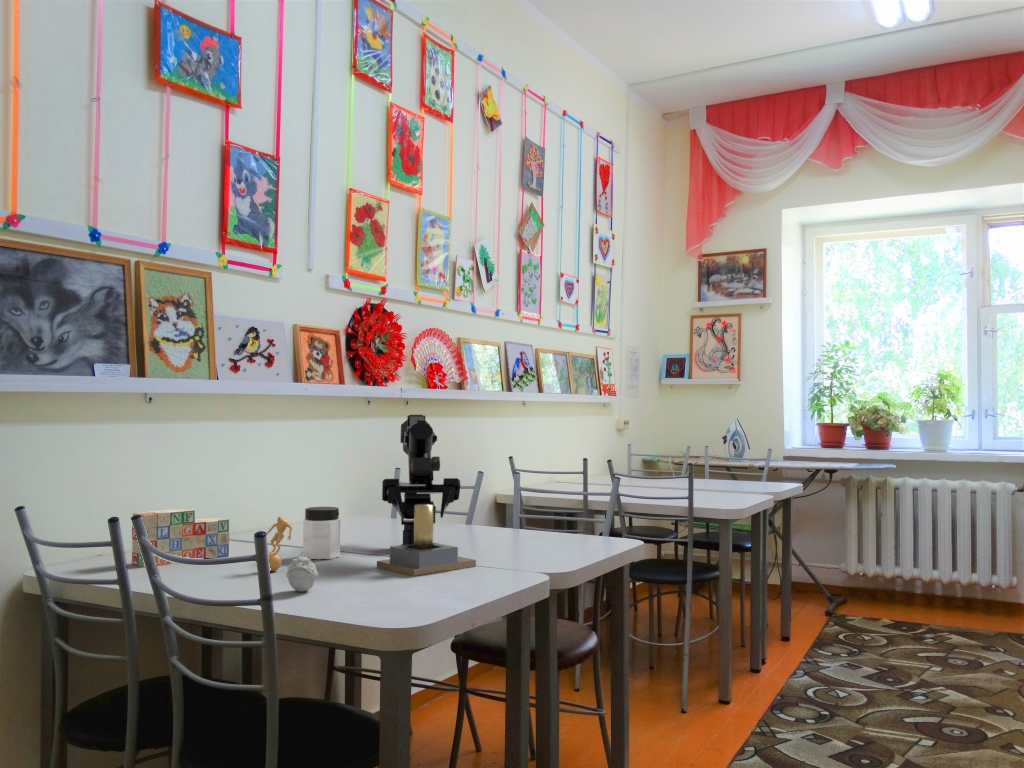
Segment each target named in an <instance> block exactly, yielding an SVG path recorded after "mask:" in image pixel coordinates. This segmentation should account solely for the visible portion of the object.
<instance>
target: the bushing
mask: <svg viewBox="0 0 1024 768" xmlns="http://www.w3.org/2000/svg"><path fill="white" fill-rule="evenodd" d="M433 504H434V503H433ZM433 504H416V505H414V519H413V520H414V549H419V550H425V549H433V543H434V524H433Z"/></svg>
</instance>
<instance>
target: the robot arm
mask: <svg viewBox="0 0 1024 768" xmlns="http://www.w3.org/2000/svg"><path fill="white" fill-rule="evenodd" d="M399 440H400V444H402V451H403V452H404V453H405V454H406V455H407V456H408V457H407V459H408V483H400V479H399V478H384V479H383V480H382V483H381V484H382V486H381V487H382V489H381V491H382V492H381V493H382V497H381V500H382V501H384V502H387V504H389V505H392V506H393V507H394V509H396V511H397V512H398V515H399V516H400V524H401V526H403V530H402V544H400V545H406V544H414V505H416V504H433V525H435V524H436V512H437V511H436V509H437V507H436V505H435V504H434V501H433V500H431V499H432V498H431V494H432V495H433V494H442V497H441V504H440V505H441V506H440V518H441V519H443V518H444V515H445V512H446V509H447V508H448V506H449V505H450V504H451V503H452V504H453V503H454V501H458V500H459V499H460V492H461V480H460V479H459V478H458V477H444V478H443V482H442V484H433V481H434V478H435V477H434V472H439V471H440V470H441V460H440V456H432V449H433V446H435V443H436V442H437V441H438V436H437V435H436V433H435V432H434V428H433V427H432V426H431V424H430V423H429V422H428V421H427V420H426V415H424V414H409V415H407V418H406V420H405V421H404V422H402V423H401V425H400V439H399ZM403 493H404V494H403ZM402 494H403V498H404V499H402Z"/></svg>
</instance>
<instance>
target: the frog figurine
mask: <svg viewBox="0 0 1024 768" xmlns="http://www.w3.org/2000/svg"><path fill="white" fill-rule="evenodd" d="M318 574H319V573H318V570H317V568H316V565H315V563H314V562H312V560H311V559H307V558H306V557H303V556H298V557H297V558H292V559H291V562H290V564H289V565H288V567H287V571H286V573H285V575H286V578H287V580H288V583H289V585H290V586H291V588H292V589H293V590H295V591H297V592H301V593H302V592H303V593H304V592H307V591H309V590H310V589H312V588H313V587H314V585H315V582H316V579H317V578H318V576H319V575H318Z"/></svg>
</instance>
